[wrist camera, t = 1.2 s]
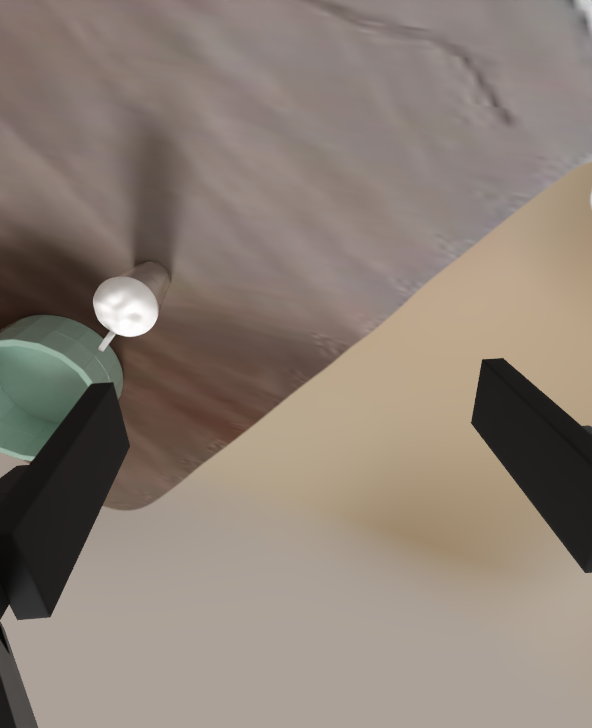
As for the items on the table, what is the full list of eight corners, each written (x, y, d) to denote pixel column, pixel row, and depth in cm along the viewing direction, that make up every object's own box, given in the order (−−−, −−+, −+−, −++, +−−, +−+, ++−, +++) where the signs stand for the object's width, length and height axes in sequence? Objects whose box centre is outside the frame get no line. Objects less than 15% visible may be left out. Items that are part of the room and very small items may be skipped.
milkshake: (114, 293, 39) (68, 334, 30) (140, 243, 37) (99, 271, 28) (159, 319, 40) (129, 366, 31) (187, 271, 38) (162, 307, 29)
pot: (-34, 370, 41) (-79, 402, 36) (42, 287, 38) (5, 309, 33) (73, 444, 46) (47, 483, 40) (149, 375, 43) (132, 407, 37)
